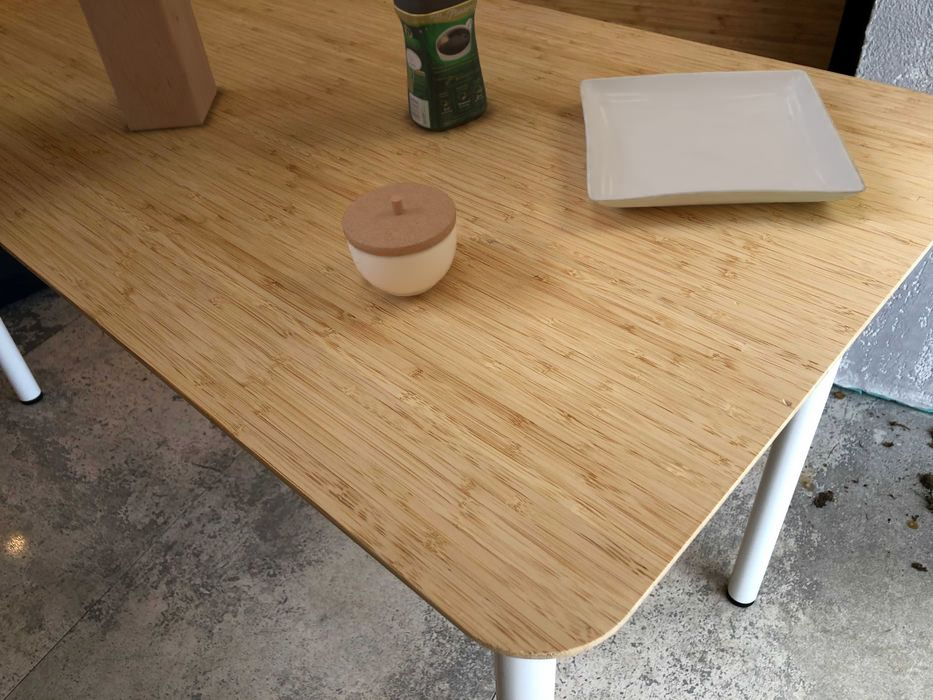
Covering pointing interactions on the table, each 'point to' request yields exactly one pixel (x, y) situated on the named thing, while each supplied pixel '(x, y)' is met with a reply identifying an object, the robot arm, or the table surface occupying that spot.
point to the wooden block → (153, 60)
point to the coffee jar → (442, 62)
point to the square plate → (713, 140)
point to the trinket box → (402, 236)
